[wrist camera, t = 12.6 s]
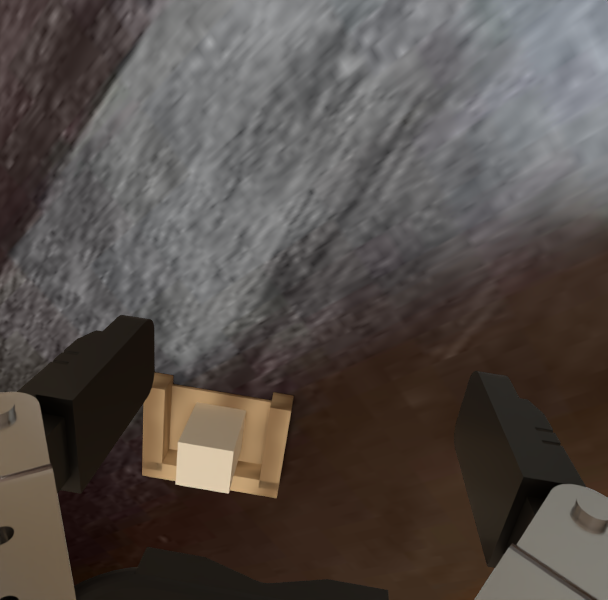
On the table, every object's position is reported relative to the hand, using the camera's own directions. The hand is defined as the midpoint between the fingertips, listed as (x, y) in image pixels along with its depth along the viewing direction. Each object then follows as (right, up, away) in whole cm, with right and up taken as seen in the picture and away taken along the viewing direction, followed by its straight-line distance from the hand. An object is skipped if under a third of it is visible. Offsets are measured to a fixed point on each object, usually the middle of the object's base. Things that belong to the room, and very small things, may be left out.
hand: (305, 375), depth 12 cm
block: (-9, -11, +37) cm, 39 cm away
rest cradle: (-9, -12, +38) cm, 40 cm away
